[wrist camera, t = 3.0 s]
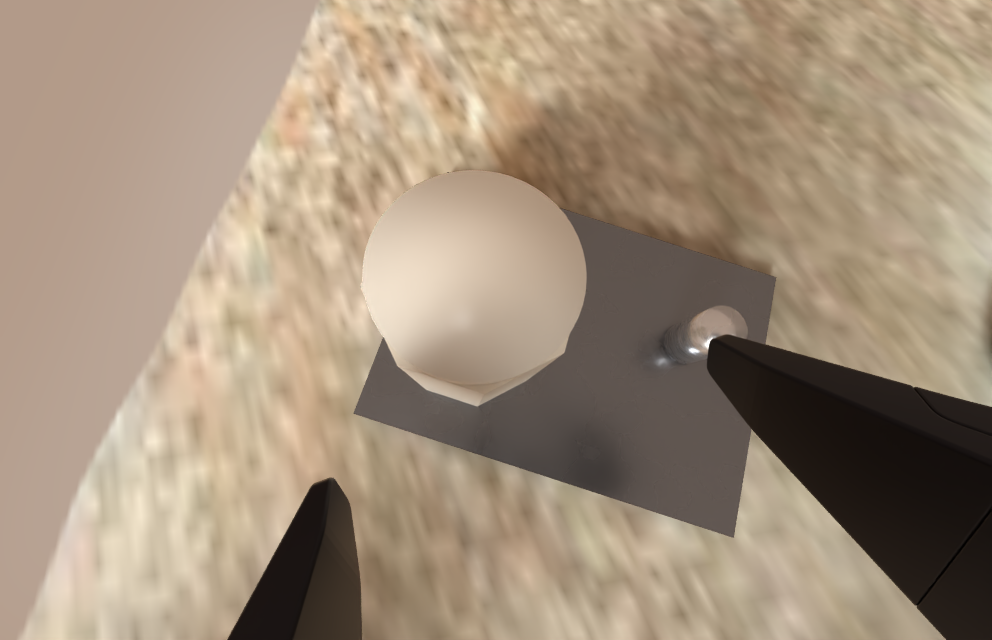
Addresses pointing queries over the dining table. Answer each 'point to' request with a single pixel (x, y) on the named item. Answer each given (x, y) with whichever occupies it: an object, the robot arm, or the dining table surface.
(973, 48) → the dining table surface
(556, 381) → the plate
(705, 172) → the dining table surface
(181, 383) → the dining table surface
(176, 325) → the dining table surface
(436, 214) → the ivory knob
